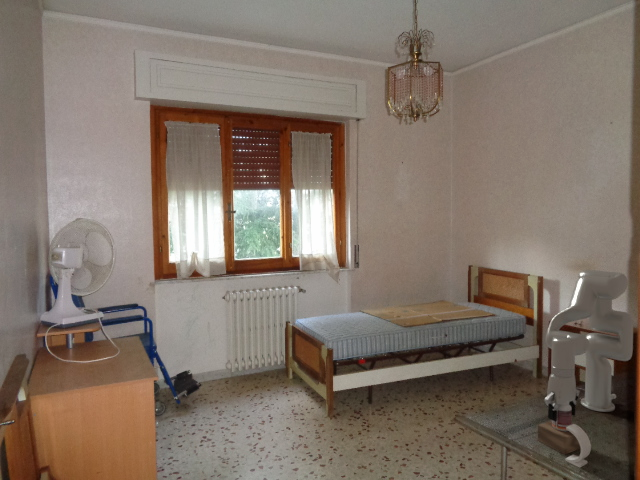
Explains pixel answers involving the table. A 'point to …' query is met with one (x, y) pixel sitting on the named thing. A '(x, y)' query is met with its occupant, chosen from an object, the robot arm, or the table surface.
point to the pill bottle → (563, 416)
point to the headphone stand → (584, 446)
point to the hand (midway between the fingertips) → (561, 416)
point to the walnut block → (557, 438)
